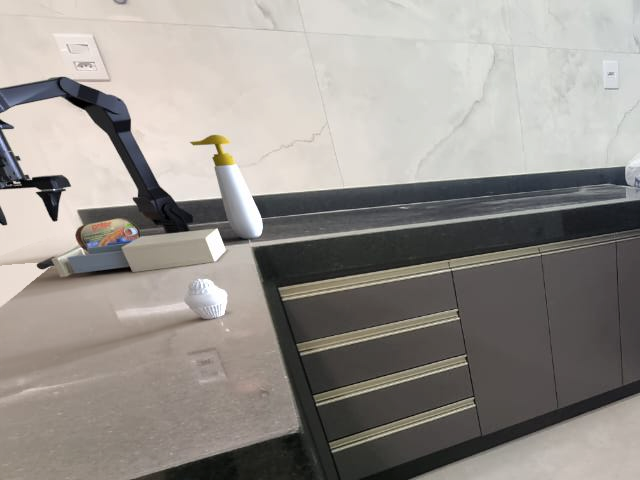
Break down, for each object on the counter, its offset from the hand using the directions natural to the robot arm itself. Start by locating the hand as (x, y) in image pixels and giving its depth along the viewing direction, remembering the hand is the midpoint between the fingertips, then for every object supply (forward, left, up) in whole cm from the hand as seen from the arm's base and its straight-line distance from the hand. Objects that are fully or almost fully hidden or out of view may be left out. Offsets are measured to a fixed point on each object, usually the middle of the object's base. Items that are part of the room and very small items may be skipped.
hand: (30, 223), depth 124 cm
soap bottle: (-22, +37, -13) cm, 45 cm away
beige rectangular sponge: (+3, +26, -12) cm, 28 cm away
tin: (-27, +4, -13) cm, 30 cm away
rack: (+3, +10, -11) cm, 15 cm away
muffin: (+62, +43, -13) cm, 76 cm away
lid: (-9, +11, -12) cm, 19 cm away
